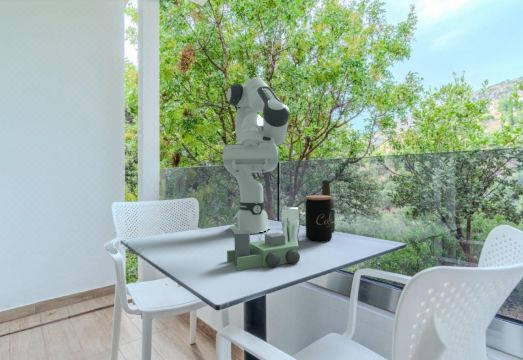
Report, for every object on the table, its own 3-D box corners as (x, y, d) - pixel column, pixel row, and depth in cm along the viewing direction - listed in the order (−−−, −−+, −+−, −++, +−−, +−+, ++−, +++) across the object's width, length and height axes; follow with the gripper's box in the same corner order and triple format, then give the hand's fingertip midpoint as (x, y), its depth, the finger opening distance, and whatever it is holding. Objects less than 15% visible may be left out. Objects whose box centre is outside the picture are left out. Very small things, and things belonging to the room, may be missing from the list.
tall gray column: (236, 261, 100) (235, 231, 100) (250, 261, 100) (249, 230, 100) (235, 266, 96) (234, 233, 96) (249, 266, 96) (249, 233, 96)
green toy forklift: (224, 259, 104) (223, 235, 104) (277, 251, 112) (276, 229, 112) (242, 273, 89) (241, 245, 89) (301, 262, 98) (300, 237, 98)
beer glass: (299, 250, 113) (299, 209, 113) (280, 249, 114) (279, 209, 114) (301, 245, 120) (300, 206, 119) (283, 245, 121) (282, 206, 121)
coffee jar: (317, 243, 123) (316, 198, 122) (300, 238, 132) (300, 196, 131) (337, 240, 128) (337, 196, 127) (320, 235, 137) (319, 194, 137)
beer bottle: (317, 229, 150) (316, 180, 150) (333, 229, 150) (333, 179, 149) (319, 233, 143) (318, 180, 142) (336, 233, 142) (335, 180, 141)
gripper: (222, 138, 116) (219, 164, 107) (277, 137, 116) (278, 164, 106) (224, 151, 121) (221, 177, 111) (277, 150, 120) (278, 176, 111)
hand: (249, 170), depth 109 cm, fingers open, 8 cm apart
